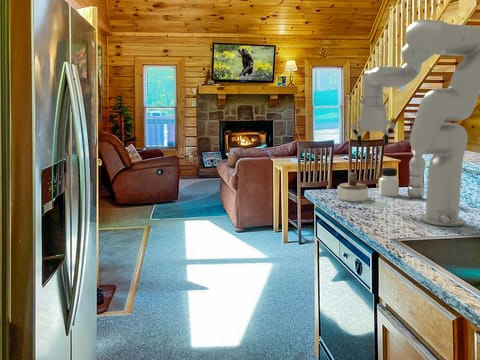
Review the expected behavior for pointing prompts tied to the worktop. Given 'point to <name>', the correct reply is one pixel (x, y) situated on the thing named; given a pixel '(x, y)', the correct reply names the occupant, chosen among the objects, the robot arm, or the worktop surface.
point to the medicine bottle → (389, 182)
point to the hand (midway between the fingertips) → (372, 145)
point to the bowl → (352, 194)
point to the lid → (352, 183)
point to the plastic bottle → (416, 176)
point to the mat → (374, 204)
